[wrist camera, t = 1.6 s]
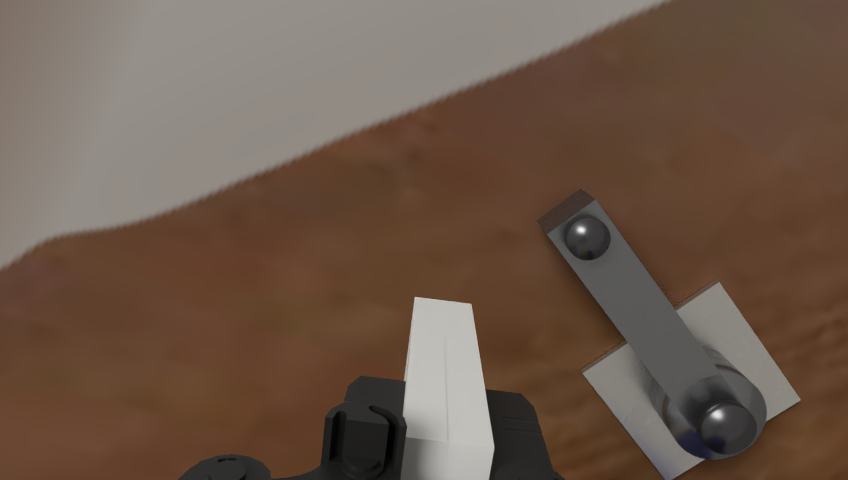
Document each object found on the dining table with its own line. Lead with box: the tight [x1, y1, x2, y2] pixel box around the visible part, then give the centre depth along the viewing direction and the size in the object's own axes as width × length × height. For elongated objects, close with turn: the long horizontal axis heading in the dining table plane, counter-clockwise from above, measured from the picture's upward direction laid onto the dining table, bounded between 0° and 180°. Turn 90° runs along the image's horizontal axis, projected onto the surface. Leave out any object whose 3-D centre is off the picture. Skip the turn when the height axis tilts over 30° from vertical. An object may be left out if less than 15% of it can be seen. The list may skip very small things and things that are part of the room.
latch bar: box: [537, 189, 767, 460], centre depth 28 cm, size 14×4×4 cm, turn 38°
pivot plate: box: [581, 280, 801, 480], centre depth 30 cm, size 8×8×4 cm
